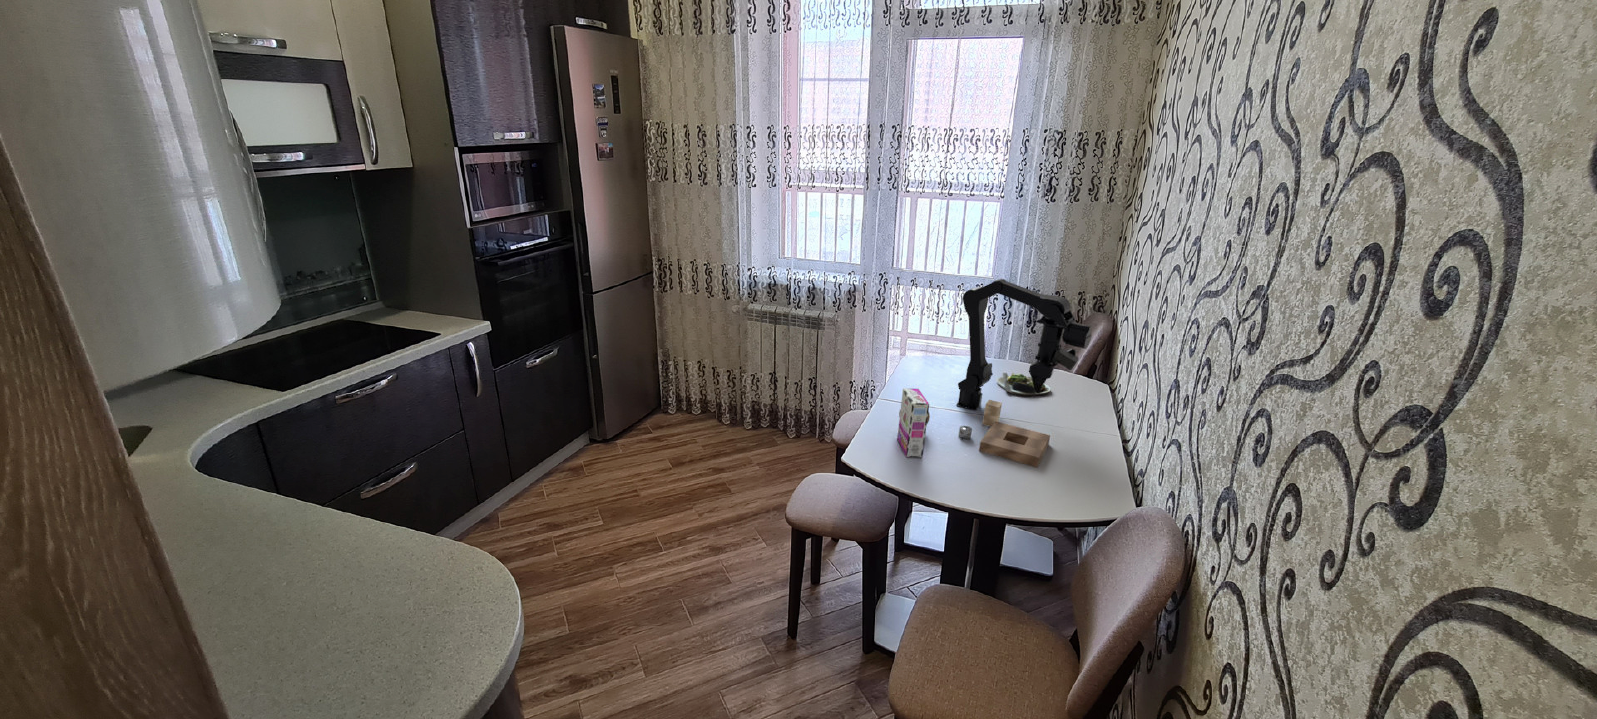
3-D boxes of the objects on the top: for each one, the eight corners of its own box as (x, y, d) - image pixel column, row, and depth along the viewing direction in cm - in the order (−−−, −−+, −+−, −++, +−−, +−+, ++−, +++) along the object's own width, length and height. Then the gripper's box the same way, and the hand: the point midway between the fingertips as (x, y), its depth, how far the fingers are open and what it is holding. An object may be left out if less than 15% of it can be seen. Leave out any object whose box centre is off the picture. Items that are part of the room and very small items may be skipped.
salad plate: (983, 378, 230) (985, 366, 228) (1026, 376, 233) (1028, 364, 232) (1011, 399, 212) (1013, 387, 210) (1056, 396, 216) (1059, 384, 214)
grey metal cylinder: (956, 438, 182) (958, 429, 181) (960, 433, 185) (961, 424, 184) (968, 441, 181) (970, 432, 180) (972, 436, 184) (973, 427, 182)
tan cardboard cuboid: (982, 424, 192) (985, 403, 189) (985, 419, 195) (989, 399, 192) (995, 427, 190) (998, 407, 187) (998, 423, 193) (1001, 402, 191)
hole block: (978, 450, 175) (980, 441, 174) (993, 430, 188) (995, 421, 187) (1037, 467, 168) (1039, 457, 167) (1048, 444, 180) (1050, 435, 179)
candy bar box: (923, 458, 170) (930, 404, 164) (906, 458, 170) (912, 404, 164) (913, 439, 181) (919, 387, 175) (896, 439, 180) (901, 387, 174)
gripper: (1075, 354, 171) (1063, 405, 176) (1083, 337, 186) (1072, 384, 192) (1033, 346, 176) (1023, 395, 181) (1045, 329, 191) (1035, 375, 197)
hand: (1040, 387), depth 188 cm, fingers open, 9 cm apart
